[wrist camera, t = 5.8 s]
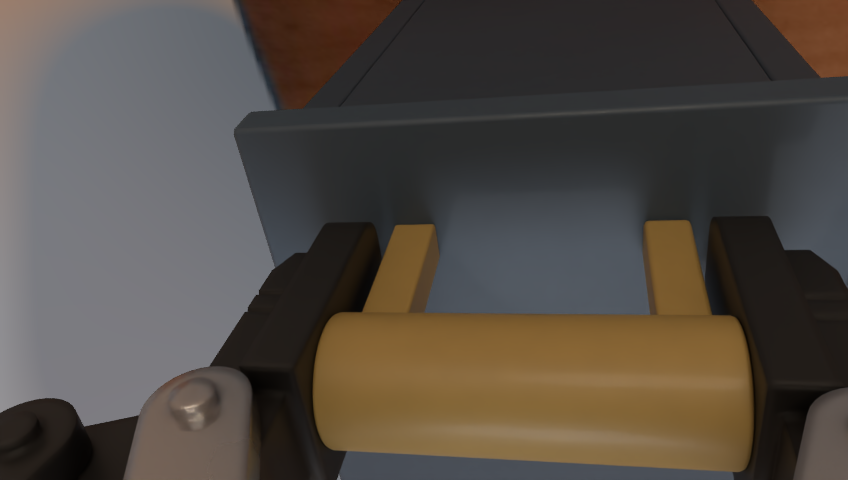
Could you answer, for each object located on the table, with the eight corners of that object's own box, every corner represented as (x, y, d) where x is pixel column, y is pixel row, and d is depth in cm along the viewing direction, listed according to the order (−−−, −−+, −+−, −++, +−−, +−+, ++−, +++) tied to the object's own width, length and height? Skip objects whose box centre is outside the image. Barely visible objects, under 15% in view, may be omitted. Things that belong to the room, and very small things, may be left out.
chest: (406, -6, 23) (275, 136, 13) (722, -35, 21) (849, 106, 11) (445, 289, 29) (375, 542, 19) (696, 289, 27) (765, 574, 17)
